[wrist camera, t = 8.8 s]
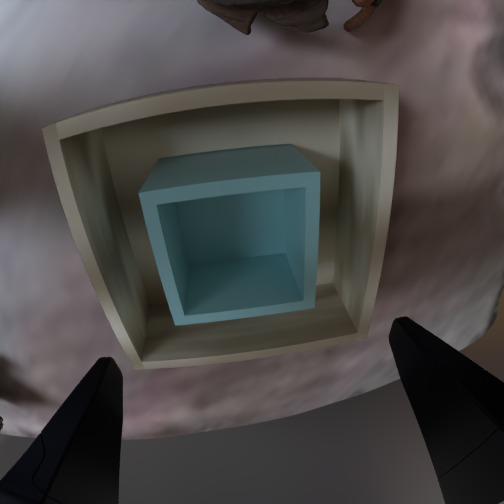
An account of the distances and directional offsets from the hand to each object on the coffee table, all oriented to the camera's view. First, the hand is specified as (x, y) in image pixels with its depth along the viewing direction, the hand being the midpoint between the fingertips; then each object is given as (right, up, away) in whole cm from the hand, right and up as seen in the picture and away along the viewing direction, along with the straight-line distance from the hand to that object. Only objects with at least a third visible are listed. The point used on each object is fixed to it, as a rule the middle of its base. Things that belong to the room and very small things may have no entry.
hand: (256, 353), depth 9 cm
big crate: (-1, +6, +9) cm, 11 cm away
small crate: (-1, +5, +9) cm, 10 cm away
